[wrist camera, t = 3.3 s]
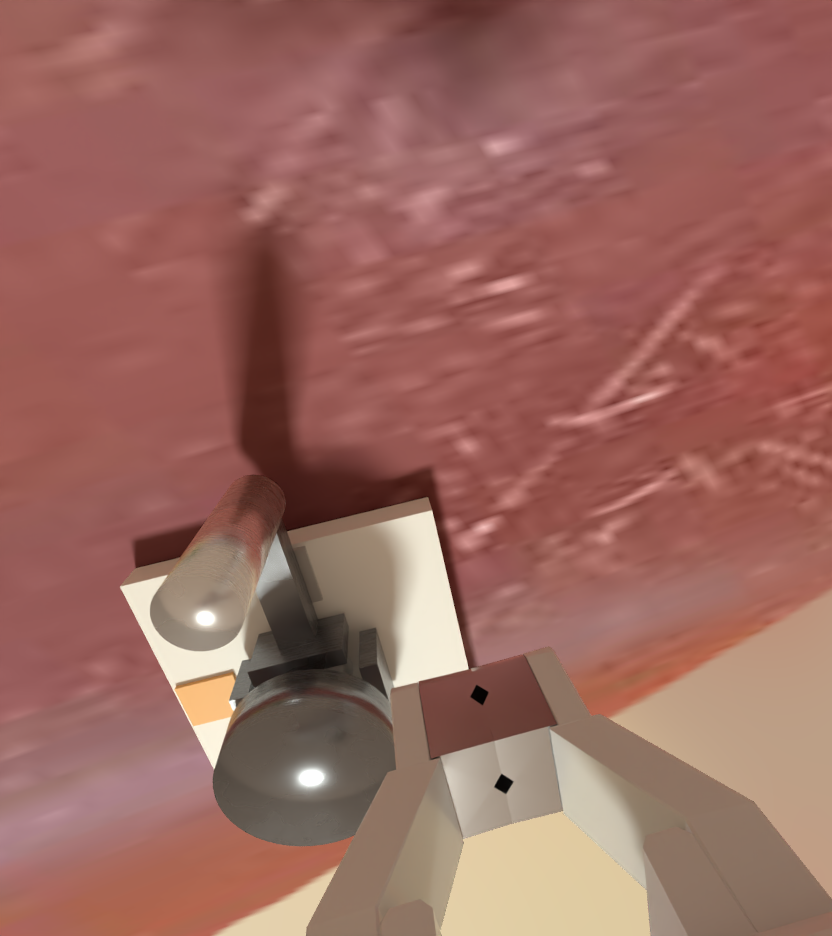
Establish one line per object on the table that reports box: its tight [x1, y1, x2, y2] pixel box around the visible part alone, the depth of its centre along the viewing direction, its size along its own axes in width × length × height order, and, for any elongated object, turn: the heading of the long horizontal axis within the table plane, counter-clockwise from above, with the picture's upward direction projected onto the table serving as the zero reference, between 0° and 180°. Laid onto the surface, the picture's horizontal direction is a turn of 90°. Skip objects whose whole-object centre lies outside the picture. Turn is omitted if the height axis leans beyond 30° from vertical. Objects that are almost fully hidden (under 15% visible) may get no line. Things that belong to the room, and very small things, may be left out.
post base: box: [120, 497, 469, 769], centre depth 23 cm, size 14×14×5 cm
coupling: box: [150, 475, 396, 846], centre depth 19 cm, size 7×14×8 cm, turn 12°
